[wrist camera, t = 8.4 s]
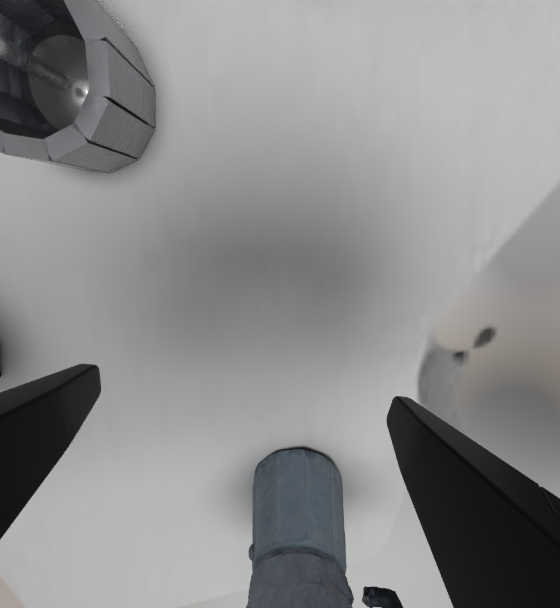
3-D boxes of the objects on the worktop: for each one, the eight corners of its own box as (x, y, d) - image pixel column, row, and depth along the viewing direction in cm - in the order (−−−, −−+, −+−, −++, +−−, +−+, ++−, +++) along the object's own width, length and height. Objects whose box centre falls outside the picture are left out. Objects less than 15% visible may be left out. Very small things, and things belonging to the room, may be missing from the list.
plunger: (42, 133, 16) (-177, 63, 8) (29, 32, 15) (-258, -172, 7) (124, 146, 17) (-12, 91, 9) (119, 49, 15) (-52, -127, 7)
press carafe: (27, 160, 17) (-64, 144, 13) (-9, -70, 14) (-154, -213, 9) (156, 180, 18) (114, 171, 13) (153, -37, 14) (94, -155, 10)
